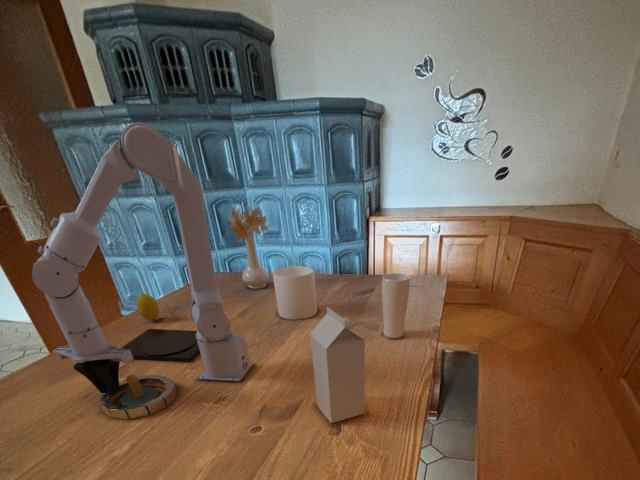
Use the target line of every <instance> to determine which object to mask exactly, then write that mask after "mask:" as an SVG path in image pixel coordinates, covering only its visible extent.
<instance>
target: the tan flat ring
mask: <svg viewBox="0 0 640 480" xmlns="http://www.w3.org/2000/svg"><path fill="white" fill-rule="evenodd" d="M137 377H138V378H139V383H140V386H141V387H158V388H163V389H165V390H163V392H162V393H161V394H159V397H157V398H155V399H153V400H151V401H148V402H146V403H143V404H138V405H133V406H122V405H115V404H113V402H114V401H115V400H116V399H118V398H119V397H121V395H124V394H125V393H127V392H129V391H131V388H130V386H129V384H128V383H127V381H126V379H124V380H122V381H119V386H120V391H118V392H117V393H116V394H115V395H111V394H110V393H109V392H108V390H106V391H104V392H103V393H101V394H100V396H99V401H98V404H99V405H100V408H101V410H102V412H103V413H104V414H106V415H107V416H108V417H110V418H113V419H122V420H123V419H125V420H129V419H130V420H133V419H136V418H137V419H138V418H142V417H146V416H150V415H153V414H155V413H157V412H159V411H160V410H163V409H166V408H167V407H169V406H170V404H171V403H172V402H174V400H175V399H176V398H177V388H176V386H175V385H176V384H175V382H174V380H172V379H171V378H169V377H167V376H165V375H157V374H148V375H147V374H145V375H140V376H137Z"/></svg>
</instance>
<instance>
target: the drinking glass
mask: <svg viewBox="0 0 640 480" xmlns="http://www.w3.org/2000/svg"><path fill="white" fill-rule="evenodd" d="M381 279H382V281H381V304H382V305H381V306H382V320H383V321H382V322H383V335H384V337H386V338H387V339H399V338H401V337H403V335H404V332H405V323H406V316H407V308H408V303H409V296H410V285H411V284H410V275H408V274H407V273H406V274H405V273H399V272H393V273H391V272H390V273H386V274H383V276H382V278H381Z"/></svg>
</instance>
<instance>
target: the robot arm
mask: <svg viewBox="0 0 640 480" xmlns="http://www.w3.org/2000/svg"><path fill="white" fill-rule="evenodd" d="M134 169H136V170H137V171H140V172H141V173H143V174H145V175H147V176H149V177H151V178H154V179H155V180H156V181H157V182H158V183H159V184H160V185H161V186H162V187H163V188H165V190H167V191H168V192H170V194H171V195H172V198H173V201H174V207H175V212H176V217H177V223H178V227H179V233H180V238H181V243H182V247H183V253H184V258H185V262H186V263H185V264H186V268H187V273H188V277H189V278H188V279H189V284H190V294H191V295H190V296H191V304H190V308H189V314H190V315H189V316H190V318H191V319H192V321H193V322H194V324H195V325H196V328H197V330H196V331H197V333H196V339H197V343H198V346H199V350H200V353H199V354H200V356H201V360H202V363H203V367H204V371H203V372H202V373H201V374H200V375H199V376H198V379H199V380H205V381H223V382H237V383H238V382H241V381H242V380H243V378H244V377H245V376H246V374H247V373H248V372H249V370H250V369H251V368H252V366H253V363H251V360H250V355H249V349H248V345H247V342H246V341H247V340H246V339H245V337H244V336H242V335H240V334H239V335H238V334H236V333H233V332H232V330H231V321H230V319H229V317H228V315H226V313H225V311H224V308H223V303H222V300H221V296H220V294H219V291H218V286H217V280H216V279H217V278H216V274H215V273H216V272H215V267H214V261H213V255H212V247H211V242H210V235H209V229H208V224H207V218H206V211H205V204H204V197H203V191H202V186H201V183H200V180H199V179H198V178H197V176H196V175H195V174H194V172H193V171H192V170H191V168H190V166H189V165H188V164H187V162H186V161H185V160H184V159H183V157H182V156H181V155H180V153H179V152H178V150H177V148H176V146H175V145H174V144H173V142H172V141H171V140H170V139H169V138H168V137H166V136H165V135H163V134H162V133H161V132H160V131H159V130H157V129H156V128H155V127H153V126H152V125H150V124H148V123H145V122H132V123H130V124H128V125H127V126H126V127H125V128H123V130H122V131H121V132H120V134H119V139H116V140H115V141H114V142H113V143H112V145H110V146H109V148H108V150H106V152H105V153H104V154H103V155H102V157H100V159H99V162H98V164H97V166H96V169H95V170H94V173H93V175H92V176H91V179H90V181H89V183H88V184H87V187H86V189H85V191H84V193H83V195H82V197H81V199H80V201H79V203H78V205H77V208H76V210H75V211H73V212H62V213H60V214H59V217H58V218H57V217H53V218H52V220H51V222H50V226H51V228H53V229H52V230H51V232H50V234H49V236H48V238H47V240H46V242H45V245H44V246H43V245H40V246H39V247H38V249H37V253H38V254H40V255H41V256H39V258H38V259H37V260H36V262H34V263H33V265H32V271H31V277H32V278H31V279H32V282H33V283H34V285H35V286H36V287H37V289H39V290H40V291H41V292H42V293H43V294H44V296H45V299H46V300H47V302H48V304H49V308H50V309H51V310H50V311H51V312H52V314H53V316H54V318H55V320H56V322H57V324H58V326H59V327H60V329H61V331H62V334H63V336H64V338H65V339H66V341H67V343H68V345H60V346H59V347H56V348H55V349H53V350H52V352H53V354H54V356H55V357H56V360H58V361H63V360H65V359H68V360H69V359H70V360H72V361H73V363H74V365H73V367H72V368H73V369H74V371H76V372H78V373H79V374H81V375H82V376H83V377H85V378H86V379H87V380H88V381H89V382H90V383H91V384H92V385H93V386H94V387H95V388H96V389H97V390H98V392H99V393H100V394H102V393H103V392H104V391H106V390H108V392H109V393H110V394H111V395H115V394H116V393H117V392H118V391H120V386H119V382H120V377H119V369H120V364H121V362H122V364H129V363H130V362H132V361H133V360H135V359H134V358H133V356H132V354H131V351H130V350H127V349H121V348H122V347H118V346H115V345H111V344H108V342H107V340H106V338H105V336H104V334H103V332H102V329H101V327H100V324H99V321H98V320H97V318H96V315H95V312H94V311H93V308H92V307H91V304H90V302H89V300H88V297H86V295H85V293H84V291H83V289H82V287H81V284H80V283H79V280H80V273H81V272H84V271H85V270H86V268H87V266H88V264H89V262H90V260H91V259H92V257H93V255H94V253H95V251H96V249H97V248H98V245H99V244H100V242H101V241H102V236H101V233H100V231H99V229H98V226H97V225H98V224H99V222H100V220H101V218H102V217H103V215H104V213H105V212H106V211H107V208H108V206H109V205H110V203H111V202H112V200H113V199H114V196H115V195H116V194H117V192H118V189H119V188H120V187H121V185H123V184H126V183H127V182H131V181H132V180H135V179H138V178H139V177H138V175H137V174H136V172H135V171H134Z"/></svg>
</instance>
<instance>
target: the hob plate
mask: <svg viewBox="0 0 640 480" xmlns="http://www.w3.org/2000/svg"><path fill="white" fill-rule="evenodd" d="M197 331H198V330H186V329H185V330H184V329H165V328H164V329H160V328H147V329H146V330H145V331H144V332H142V333H140V334H139V335H137V336H136V337H134V339H132V340H130V341H129V342H128V343H126V344H125V345H123V346H121V347H120V348H121V349H127V350H130V351H131V354H132V356H133V358H134V359H133V360H142V361H143V360H144V361H160V362H161V361H163V362H182V363H191V362H192V361H194V359H196V357H197V356H199V355H200V354H201V353H200V350H199V346H198V343H197V339H196V333H197Z"/></svg>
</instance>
